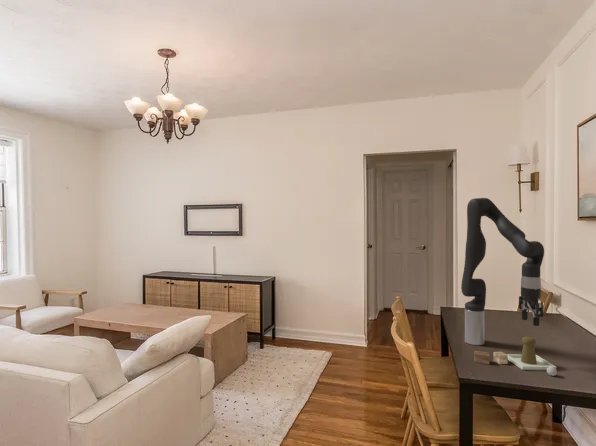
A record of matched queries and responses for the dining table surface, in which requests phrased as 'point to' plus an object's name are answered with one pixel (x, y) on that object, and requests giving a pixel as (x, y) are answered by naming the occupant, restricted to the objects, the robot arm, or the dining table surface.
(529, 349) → the cork
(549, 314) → the dining table surface
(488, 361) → the walnut block
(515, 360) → the tray
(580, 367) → the dining table surface
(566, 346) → the dining table surface
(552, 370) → the grey ball
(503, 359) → the maple block
